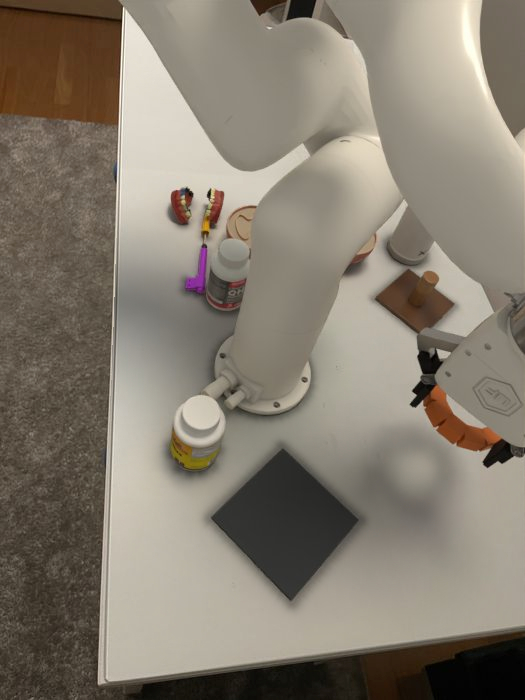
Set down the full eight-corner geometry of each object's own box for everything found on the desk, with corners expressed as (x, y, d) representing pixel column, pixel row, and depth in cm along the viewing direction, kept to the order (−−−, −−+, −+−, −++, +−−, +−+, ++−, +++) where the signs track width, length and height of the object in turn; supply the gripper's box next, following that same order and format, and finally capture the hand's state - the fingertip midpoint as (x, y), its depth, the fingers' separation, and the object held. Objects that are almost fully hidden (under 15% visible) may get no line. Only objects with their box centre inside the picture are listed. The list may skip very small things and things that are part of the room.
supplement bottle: (167, 431, 65) (171, 389, 57) (214, 426, 67) (224, 385, 58) (172, 476, 63) (177, 439, 54) (221, 470, 64) (232, 433, 56)
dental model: (222, 201, 81) (168, 202, 81) (224, 224, 84) (172, 224, 84) (224, 178, 84) (172, 178, 84) (226, 201, 87) (176, 201, 88)
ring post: (422, 337, 81) (440, 312, 76) (374, 298, 83) (389, 272, 78) (453, 306, 85) (472, 280, 80) (407, 270, 88) (422, 244, 83)
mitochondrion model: (360, 234, 90) (370, 211, 86) (373, 281, 85) (385, 259, 81) (220, 227, 85) (224, 203, 81) (225, 277, 80) (230, 253, 76)
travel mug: (425, 270, 88) (489, 168, 72) (385, 259, 88) (441, 154, 72) (426, 243, 92) (488, 140, 76) (388, 232, 92) (442, 127, 75)
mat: (291, 601, 58) (291, 600, 57) (211, 517, 61) (211, 517, 61) (358, 520, 64) (359, 519, 63) (282, 448, 67) (282, 447, 67)
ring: (483, 469, 56) (492, 462, 54) (406, 407, 58) (413, 399, 57) (520, 410, 61) (530, 402, 59) (449, 355, 63) (456, 346, 62)
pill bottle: (230, 318, 76) (240, 272, 68) (198, 299, 77) (204, 250, 69) (250, 295, 79) (262, 247, 71) (219, 276, 80) (228, 227, 72)
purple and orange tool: (205, 294, 77) (211, 215, 86) (204, 289, 76) (210, 209, 85) (186, 295, 77) (194, 216, 86) (184, 290, 76) (193, 210, 85)
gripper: (446, 287, 42) (367, 393, 57) (651, 439, 38) (510, 512, 53) (488, 242, 46) (404, 352, 61) (679, 375, 42) (540, 460, 56)
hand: (454, 426), depth 57 cm, fingers closed on ring, 8 cm apart
